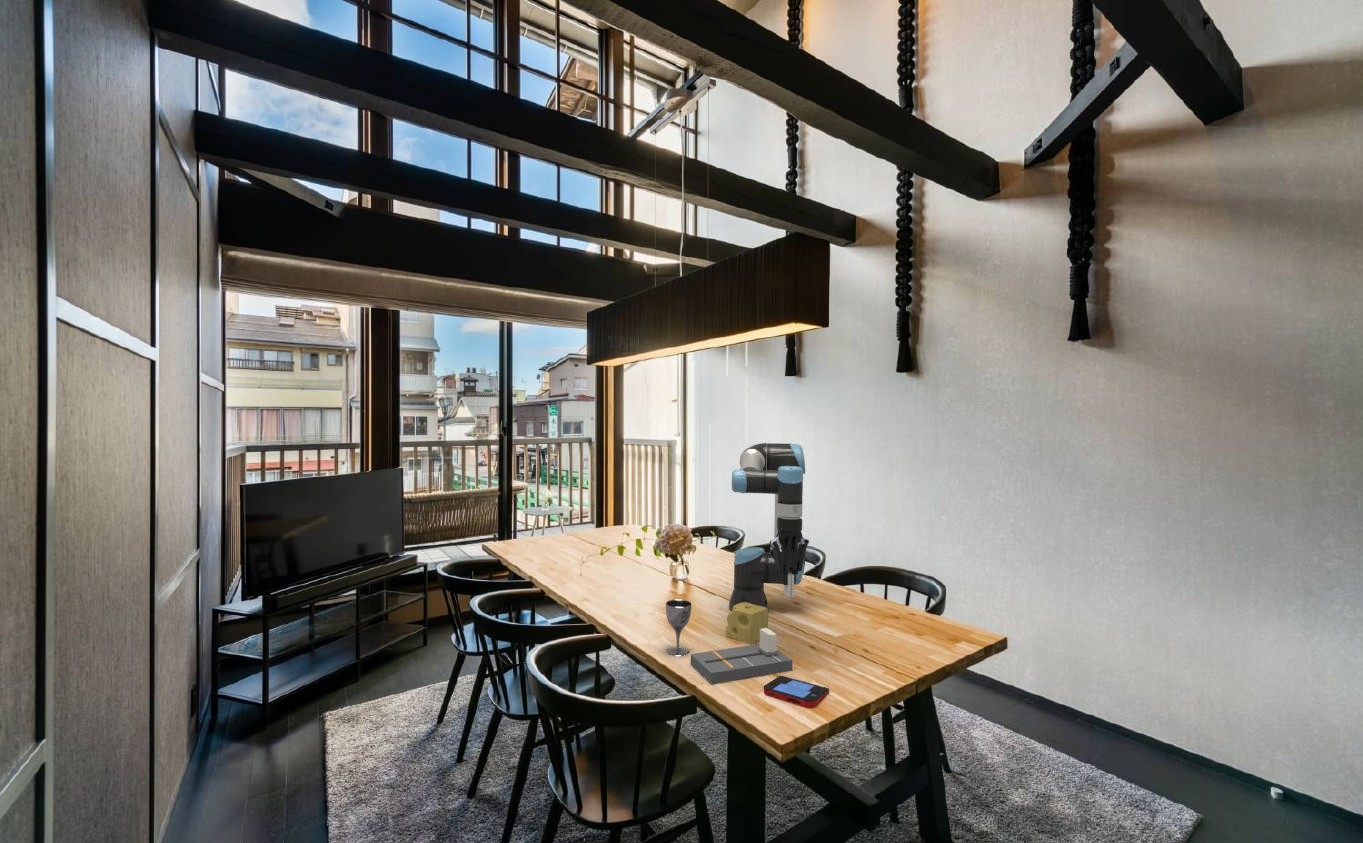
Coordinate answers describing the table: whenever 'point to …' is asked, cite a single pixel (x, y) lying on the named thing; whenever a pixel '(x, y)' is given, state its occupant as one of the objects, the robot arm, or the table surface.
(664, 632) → the table surface
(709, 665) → the board
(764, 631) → the fader
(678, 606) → the wine glass
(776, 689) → the red and black smartphone
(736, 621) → the cheese
